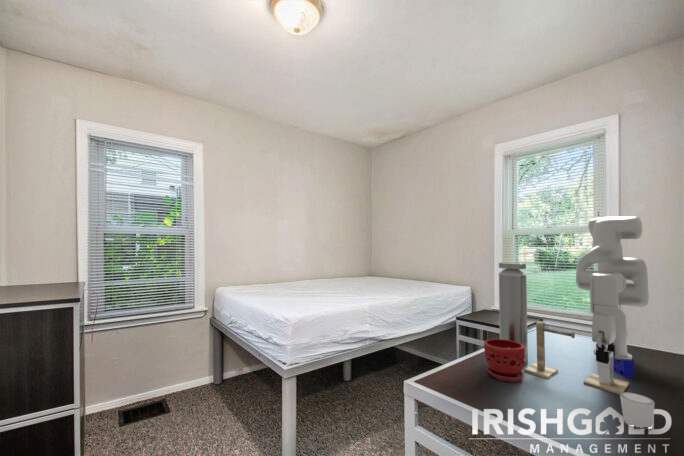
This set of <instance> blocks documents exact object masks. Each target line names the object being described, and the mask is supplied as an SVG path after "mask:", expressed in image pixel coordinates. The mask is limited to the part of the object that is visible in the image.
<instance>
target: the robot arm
mask: <svg viewBox="0 0 684 456" xmlns="http://www.w3.org/2000/svg"><path fill="white" fill-rule="evenodd" d="M587 226H588V230H589V233H590V236H591V238H592V246H591V247H592V248H591V249H590V250H588V251H586V252H585V253H584V254H583V255H582V256H581V257H580V258H579V260H578V261H577V265H576V269H575V270H576V273H575V284H576V286H577V287H578V288H579V289H581V290H585V291H589V297H590V298H589V299H590V302H589V303H590V305H589V306H590V313H592V321H591V322H592V323H591V324H592V327H591V330H592V331H591V340H592V341H591V342H593V343H596V344H595V348H593V352H594V353H595V361H596V362H597V363H598V362H601V363H605V364H608V363H609V360H608V351H612V352H613V357H615V359H616V361H618V360H619V361H621V359H631V360H633V355H632V354H630V353H629V352H628V345H627V344H628V342H627V341H628V338H627V337H628V336H627V317H626V314H625V312H624V310H622V309H621V307H619V306H628V307H635V308H636V307H637V308H639V307H640V308H643V307H646V306H648V304H649V279H648V277H649V276H648V274H649V273H648V266H647V263H646V262H645V260H643V259H642V258H639V257H627V256H626V257H625V256H624V255H623V245H622V244H621V240H638V239H640V238H641V237H642V235H643V223H642V219H640V217H639V216H634V215H631V216H630V215H628V216H627V215H626V216H603V217H602V216H601V217H595V218H591V219H590V220H589V221H588V223H587ZM595 264H597V270H591V269H589V270H588V268H589V267H591V266H593V265H595ZM627 281H632V282H633V283H632V282H627ZM607 350H608V351H607Z"/></svg>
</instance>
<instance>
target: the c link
mask: <svg viewBox="0 0 684 456" xmlns="http://www.w3.org/2000/svg"><path fill="white" fill-rule="evenodd" d="M607 351H608V350H607ZM608 360H609V363H608V364H605V363H601V362H597V366H598V369H597V371H598V373H597V374H599V383H602V384H605V385H609V386H610V385H611V382H614V378H615V371H614V361H613V352H612V351H608Z"/></svg>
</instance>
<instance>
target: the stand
mask: <svg viewBox="0 0 684 456" xmlns="http://www.w3.org/2000/svg"><path fill="white" fill-rule="evenodd" d="M535 323H536V362H534V363H532V364H530V365H527V367H525V368H524V370H523V371H524V373H527V374H531V375H534V376H537V377H540V378H544V379H547V380H549V379H551V378H552V377H553V376H554V375H556V374H557V373H558V372H559V369H558V368H556V367H552V366H548V365H546V350H545V348H546V346H545V343H546V342H545V332H547V333H552V334H557V335H562V336H567V337H571V339H575V336H576V333H575V332H574V331H572V332H568V331H567V332H566V331H561V330H558V329H551V328H545V322H544V321H539V320H537V321H536V322H535Z"/></svg>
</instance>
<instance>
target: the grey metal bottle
mask: <svg viewBox="0 0 684 456" xmlns="http://www.w3.org/2000/svg"><path fill="white" fill-rule="evenodd" d="M498 268H499V269H503V270H502V271H500V272H499V273H498V301H499V302H498V305H499V307H498V308H499V309H498V310H499V312H498V313H499V318H498V319H499V339H504V340H511V341H515V342H518V343H521V344H522V345H523V346H524V350H525V356H524V365H523V367H524V366H529V352H528V351H529V349H528V348H529V347H528V341H529V340H528V296H527V294H528V293H527V291H528V290H527V273H525V272H524V271H522V270H526V269H527V263H524V262H509V261H508V262H504V261H503V262H501V261H500V262H498ZM508 348H510V347H508Z"/></svg>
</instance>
